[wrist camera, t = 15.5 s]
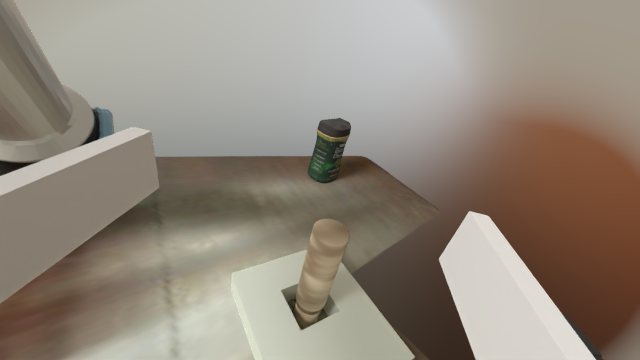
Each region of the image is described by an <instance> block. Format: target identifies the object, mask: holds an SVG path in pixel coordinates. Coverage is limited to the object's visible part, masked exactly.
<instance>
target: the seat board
mask: <svg viewBox="0 0 640 360" xmlns="http://www.w3.org/2000/svg"><path fill="white" fill-rule="evenodd" d="M306 252H307V249H306V250H303V251H300V252H297V253H294V254H290V255H287V256H284V257H281V258H278V259H275V260H272V261H268V262H265V263H262V264H259V265H256V266H253V267H249V268H246V269H243V270H240V271H237V272H234V273H232V276H231V291H232V294H233V297H234V300H235V303H236V306H237V309H238V312H239V315H240V318H241V321H242V323H243V326H244V329H245V332H246V335H247V338H248V341H249V344H250V347H251V350H252V353H253V356H254V359H255V360H413V359H414V358H415V356H414V355H413V354H412V352H411V351H410V350H409V349H408V347H407V346H406V345H405V343H404V342H403V341H402V339H401V338H400V337H399V336H398V334H397V333H396V332H395V330H394V329H393V328H392V327H391V325H390V324H389V323H388V321H387V320H386V319H385V318H384V316H383V315H382V314H381V312H380V311H379V310H378V309H377V308H376V306H375V305H374V303H373V302H372V301H371V299H370V298H369V297H368V296H367V294H366V293H365V292H364V290H363V289H362V288H361V287H360V285H359V284H358V283H357V281H356V280H355V279H354V278H353V276H352V275H351V274H350V272H349V271H348V270H347V269H346V267H345V266H344V265H343V263H342V262H341V263H340V266H339V268H338V271H337V274H336V277H335V279H334V282H333V285H332V288H331V290H330V293H329V296H328V299H327V301H326V304H325V306H324V307H323V309H324V310H325V312H326V314H327V315H328V317H327V318H325V319H323V320H321V321H319V322H317V323H315V324H313V325H312V326H310V327H308V328H306V329H304V330H302V331H301V330H300V328H299V326H298V324H297V322H296V320H295V318H294V316H293V314H292V312H291V310H290V308H289V306H288V304H287V302H288V301H290V300H292V299H295V298H296V292H297V288H298V284H299V280H300V276H301V272H302V268H303V264H304V260H305V256H306Z"/></svg>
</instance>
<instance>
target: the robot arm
mask: <svg viewBox="0 0 640 360" xmlns="http://www.w3.org/2000/svg"><path fill="white" fill-rule="evenodd" d="M158 188H159V182H158V175H157V168H156V161H155V154H154V147H153V139H152V133H151V131H148V130H144V129H140V128H136V127H131V128H128V129H126V130H123V131H120V132H118V133H115V134H114V125H113V116H112V113H111V112H110V111H109V110H106V109H100V108H98V107H93V108H91V107H90V105H89V104H88V102H87V101H86V100H85V99H84V98H83V97H82V96H81V95H79V94H78V93H77V92H75V91H74V90H72V89H70V88H68V87H66V86H64V85H62V84H61V83H60V81H59V79H58V78H57V76H56V74H55V72H54V71H53V69H52V67H51V65H50V64H49V62H48V60H47V58H46V57H45V55H44V53H43V51H42V50H41V48H40V46H39V44H38V43H37V41H36V39H35V37H34V36H33V34H32V32H31V30H30V29H29V27H28V25H27V23H26V22H25V20H24V18H23V16H22V15H21V13H20V11H19V9H18V8H17V6H16V4H15V2H14V1H13V0H0V303H1V302H3V301H4V300H6V299H7V298H8V297H10V296H11V295H12V294H14V293H15V292H17V291H18V290H19V289H21V288H22V287H23V286H25V285H26V284H28V283H29V282H30V281H32V280H33V279H34V278H36V277H37V276H39V275H40V274H41V273H43V272H44V271H45V270H47V269H48V268H50V267H51V266H52V265H54V264H55V263H56V262H58V261H59V260H61V259H62V258H63V257H65V256H66V255H67V254H69V253H70V252H72V251H73V250H74V249H76V248H77V247H78V246H80V245H81V244H83V243H84V242H85V241H87V240H88V239H89V238H91V237H92V236H94V235H95V234H96V233H98V232H99V231H100V230H102V229H103V228H105V227H106V226H107V225H109V224H110V223H111V222H113V221H114V220H116V219H117V218H118V217H120V216H121V215H122V214H124V213H125V212H127V211H128V210H129V209H131V208H132V207H133V206H135V205H136V204H138V203H139V202H140V201H142V200H143V199H145V198H146V197H147V196H149V195H150V194H151V193H153V192H154V191H156V190H157V189H158ZM439 261H440V264H441V267H442V269H443V272H444V275H445V277H446V280H447V283H448V285H449V288H450V291H451V293H452V296H453V299H454V302H455V304H456V307H457V310H458V313H459V315H460V318H461V321H462V323H463V326H464V329H465V331H466V334H467V337H468V340H469V342H470V345H471V348H472V350H473V353H474V356H475V359H476V360H603V359H602V355H601V354H600V353H599V352H598V350H597V349H596V348H595V346H594V345H593V344H592V342H591V341H590V340H589V338H588V337H587V336H586V335H585V334H584V333H583V332H582V331H581V330H580V329H579V328H578V327H577V326H576V325H575V324H574V323H573V322H572V321H571V320H570V319H569V318H567V317H566V316H565V315H564V314H562V313H561V312H560V311H559V310H558V308H557V307H556V306H555V304H554V303H553V302H552V300H551V299H550V298H549V296H548V295H547V294H546V292H545V291H544V290H543V288H542V287H541V286H540V284H539V283H538V282H537V280H536V279H535V278H534V276H533V275H532V274H531V272H530V271H529V270H528V268H527V267H526V265H525V264H524V263H523V261H522V260H521V259H520V257H519V256H518V255H517V254H516V252H515V251H514V250H513V248H512V247H511V246H510V244H509V243H508V241H507V240H506V239H505V238H504V236H503V235H502V234H501V232H500V231H499V229H498V228H497V227H496V226H495V224H494V223H493V222H492V220H491V219H490V217H489V216H486V215H482V214H478V213H474V212H470V211H469V213H468V214H467V216H466V217H465V219H464V221H463V222H462V224H461V225H460V227H459V228H458V230H457V231H456V233H455V235H454V236H453V238H452V239H451V241H450V242H449V244H448V245H447V247H446V249H445V250H444V252H443V253H442V255H441V256H440V258H439Z"/></svg>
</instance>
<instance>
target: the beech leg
mask: <svg viewBox="0 0 640 360" xmlns="http://www.w3.org/2000/svg"><path fill="white" fill-rule="evenodd" d="M349 238H350V233H349V231H348V229H347V228H346V227H345V226H344V225H343V224H342V223H340V222H338V221H336V220H333V219H321V220H318V221H317V222H316V223H315V224H314V225H313V229H312V233H311V237H310V241H309V245H308V248H307V252H306V256H305V260H304V264H303V268H302V272H301V276H300V280H299V284H298V288H297V292H296V303H295V307H294V311H293V316H294V318H295V320H296V322H297V324H298V326H299V327H300V328H302V329H306V328H308V327H310V326H312V325H313V324H315V323H317V320H318V318H319V315H320V312H321V310H322V309H323V307H324V306H325V304H326V301H327V299H328V296H329V293H330V290H331V288H332V285H333V282H334V279H335V277H336V274H337V271H338V268H339V266H340V263H341V260H342V257H343V255H344V252H345V249H346V246H347V244H348V241H349Z"/></svg>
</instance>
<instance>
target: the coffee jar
mask: <svg viewBox="0 0 640 360" xmlns="http://www.w3.org/2000/svg"><path fill="white" fill-rule="evenodd" d="M350 130H351V125H350V123H349V122H347V121H345V120H343V119H341V118H338V119H328V120H321V121H320V123H319V126H318V129H317V141H316V145H315V148H314V152H313V156H312V159H311V162H310V165H309V169H308V174H309V176H310V177H311V178H313V179H314V180H316V181H319V182H328V181H331V180H333V179H335V178H337V176H338V172H339V168H340V163H341V159H342V154H343V151H344V147H345V144H346V141H347V139H348V137H349V134H350Z"/></svg>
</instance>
